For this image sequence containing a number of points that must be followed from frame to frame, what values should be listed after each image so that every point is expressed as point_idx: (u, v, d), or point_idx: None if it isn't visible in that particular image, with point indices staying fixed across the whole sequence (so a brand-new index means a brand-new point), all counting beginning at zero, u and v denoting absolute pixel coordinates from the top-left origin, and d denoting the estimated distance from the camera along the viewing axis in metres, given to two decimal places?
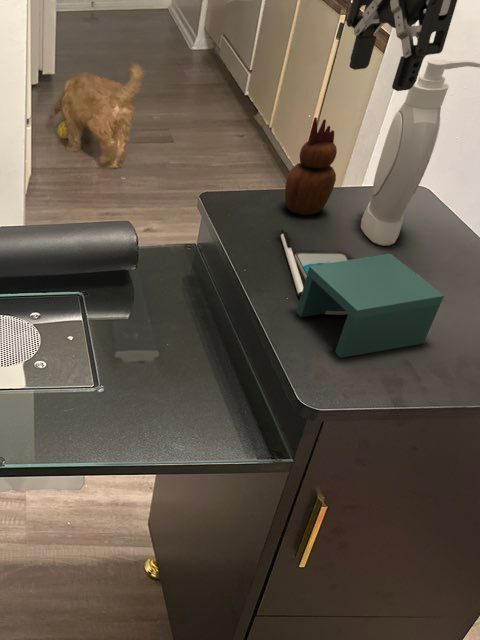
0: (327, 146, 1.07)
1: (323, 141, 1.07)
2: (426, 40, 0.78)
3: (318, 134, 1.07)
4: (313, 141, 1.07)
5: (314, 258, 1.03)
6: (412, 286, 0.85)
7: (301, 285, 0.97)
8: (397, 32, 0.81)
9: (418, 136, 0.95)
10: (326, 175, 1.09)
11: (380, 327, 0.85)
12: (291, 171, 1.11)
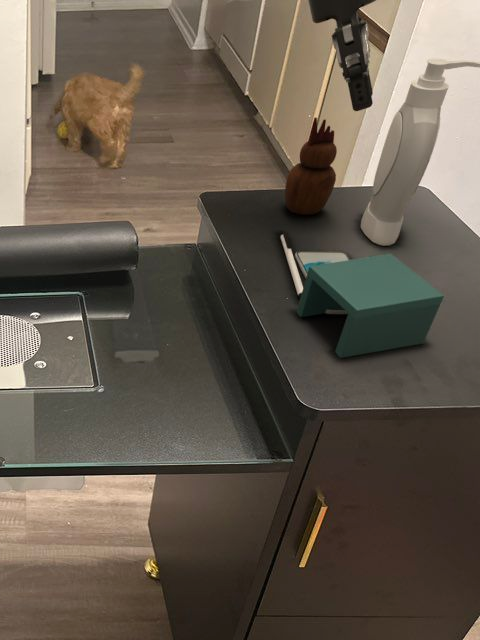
0: (327, 146, 1.07)
1: (323, 141, 1.07)
2: (341, 65, 0.87)
3: (318, 134, 1.07)
4: (313, 141, 1.07)
5: (314, 256, 1.03)
6: (412, 286, 0.85)
7: (301, 286, 0.97)
8: (339, 63, 0.91)
9: (418, 136, 0.95)
10: (326, 175, 1.09)
11: (380, 327, 0.85)
12: (291, 171, 1.11)
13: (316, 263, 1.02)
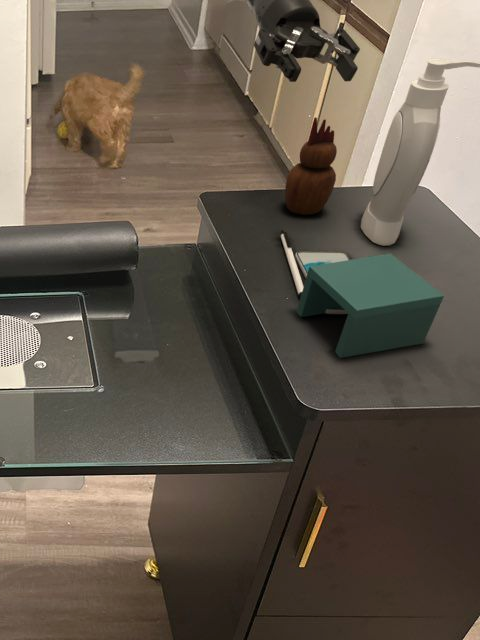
0: (327, 146, 1.07)
1: (323, 141, 1.07)
2: None
3: (318, 134, 1.07)
4: (313, 141, 1.07)
5: (315, 257, 1.03)
6: (412, 286, 0.85)
7: (301, 285, 0.97)
8: None
9: (418, 136, 0.95)
10: (326, 175, 1.09)
11: (380, 327, 0.85)
12: (291, 171, 1.11)
13: (316, 263, 1.02)
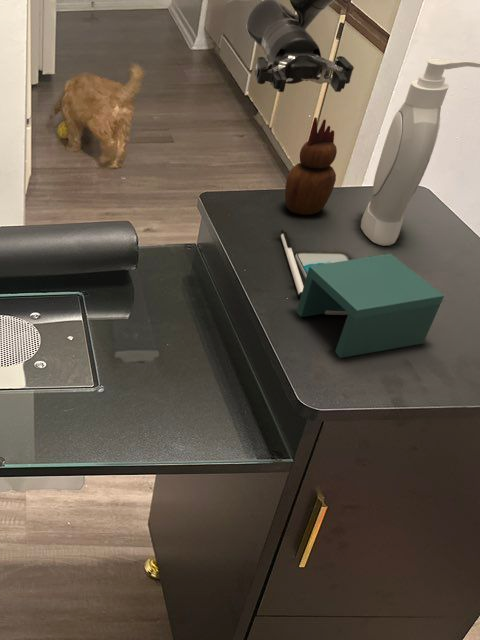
0: (327, 146, 1.07)
1: (323, 141, 1.07)
2: None
3: (318, 134, 1.07)
4: (313, 141, 1.07)
5: (314, 258, 1.03)
6: (412, 286, 0.85)
7: (301, 285, 0.97)
8: None
9: (418, 136, 0.95)
10: (326, 175, 1.09)
11: (380, 327, 0.85)
12: (291, 171, 1.11)
13: (316, 264, 1.02)
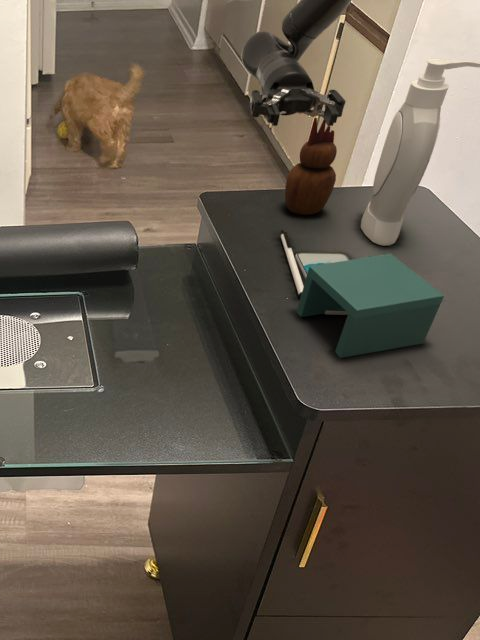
0: (327, 146, 1.07)
1: (323, 141, 1.07)
2: (251, 113, 1.23)
3: (318, 134, 1.07)
4: (313, 141, 1.07)
5: (315, 258, 1.03)
6: (412, 286, 0.85)
7: (301, 285, 0.97)
8: None
9: (418, 136, 0.95)
10: (326, 175, 1.09)
11: (380, 327, 0.85)
12: (291, 171, 1.11)
13: (316, 264, 1.02)
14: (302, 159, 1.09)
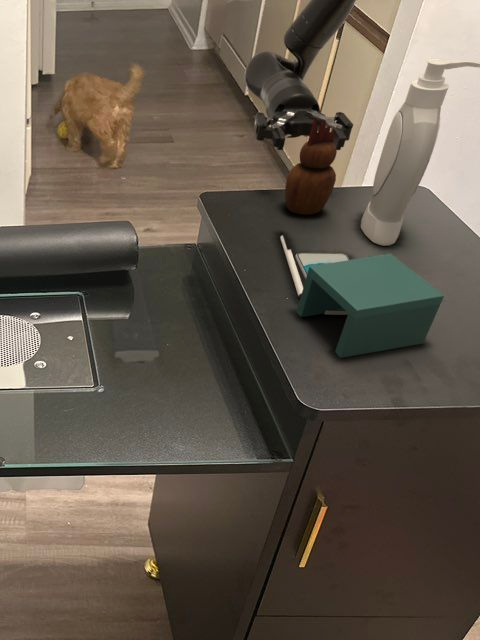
0: (327, 146, 1.07)
1: (323, 141, 1.07)
2: None
3: (318, 134, 1.07)
4: (313, 141, 1.07)
5: (315, 258, 1.03)
6: (412, 286, 0.85)
7: (301, 287, 0.97)
8: None
9: (418, 136, 0.95)
10: (326, 175, 1.09)
11: (380, 327, 0.85)
12: (291, 171, 1.11)
13: (316, 264, 1.02)
14: (302, 159, 1.09)
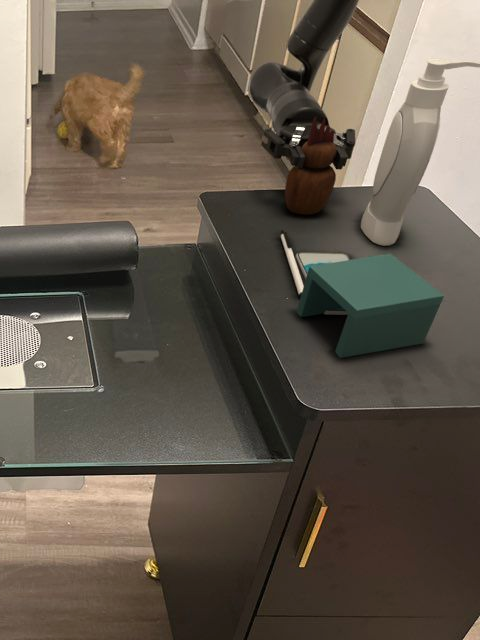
0: (327, 146, 1.07)
1: (323, 141, 1.07)
2: None
3: (318, 134, 1.07)
4: (313, 141, 1.07)
5: (315, 257, 1.03)
6: (412, 286, 0.85)
7: (302, 285, 0.97)
8: None
9: (418, 136, 0.95)
10: (326, 175, 1.09)
11: (380, 327, 0.85)
12: (291, 171, 1.11)
13: (316, 264, 1.02)
14: None
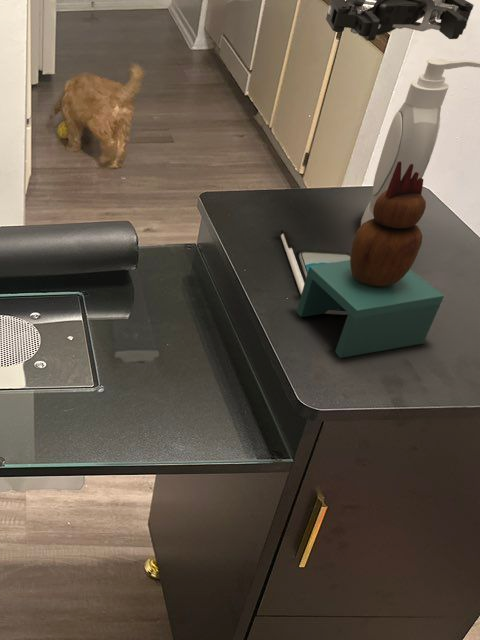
0: (414, 200, 0.79)
1: (408, 192, 0.79)
2: (331, 27, 0.85)
3: (402, 184, 0.79)
4: (394, 192, 0.79)
5: (318, 257, 1.03)
6: (412, 286, 0.85)
7: (303, 285, 0.97)
8: None
9: (418, 136, 0.95)
10: (410, 237, 0.81)
11: (380, 327, 0.85)
12: (361, 230, 0.83)
13: (318, 264, 1.02)
14: (378, 216, 0.81)
